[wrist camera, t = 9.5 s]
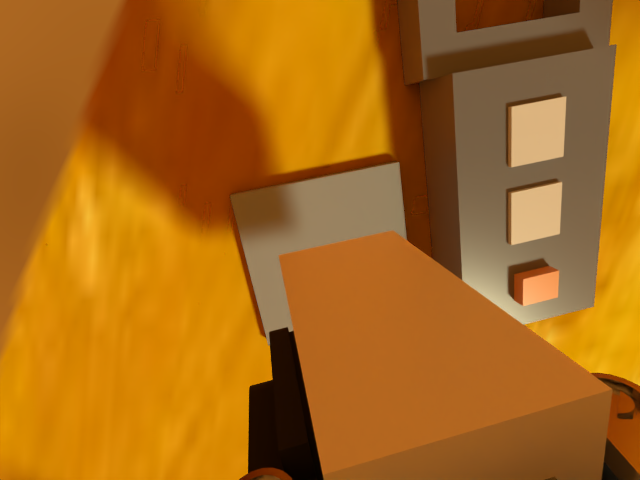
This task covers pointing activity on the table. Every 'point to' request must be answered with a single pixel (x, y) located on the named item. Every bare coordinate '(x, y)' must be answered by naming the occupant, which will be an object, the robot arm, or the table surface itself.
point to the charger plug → (432, 374)
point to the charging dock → (515, 148)
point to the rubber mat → (312, 224)
